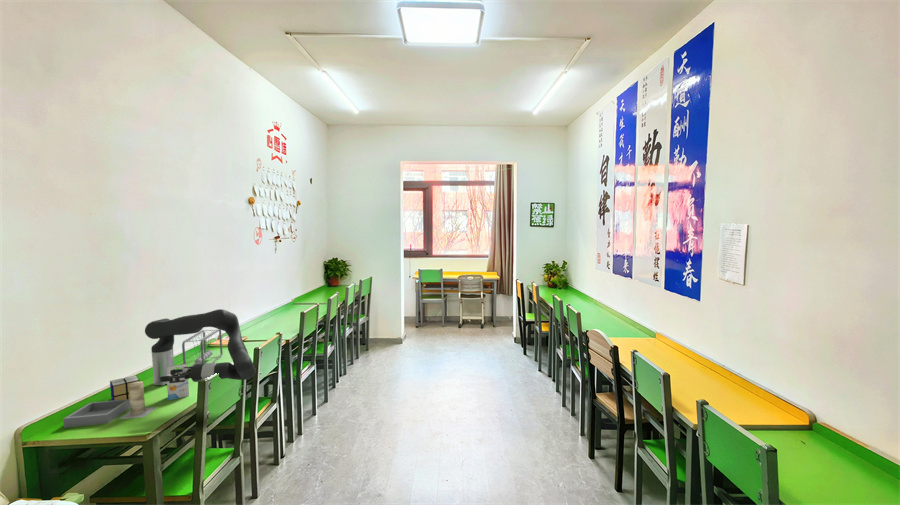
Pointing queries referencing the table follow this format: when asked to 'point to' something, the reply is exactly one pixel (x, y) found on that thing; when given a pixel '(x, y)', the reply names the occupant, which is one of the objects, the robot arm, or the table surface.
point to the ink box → (177, 385)
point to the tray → (97, 413)
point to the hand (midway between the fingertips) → (165, 375)
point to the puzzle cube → (122, 387)
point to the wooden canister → (137, 398)
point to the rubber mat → (147, 411)
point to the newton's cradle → (206, 353)
